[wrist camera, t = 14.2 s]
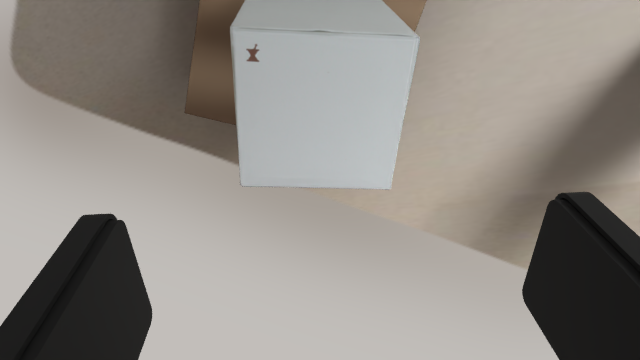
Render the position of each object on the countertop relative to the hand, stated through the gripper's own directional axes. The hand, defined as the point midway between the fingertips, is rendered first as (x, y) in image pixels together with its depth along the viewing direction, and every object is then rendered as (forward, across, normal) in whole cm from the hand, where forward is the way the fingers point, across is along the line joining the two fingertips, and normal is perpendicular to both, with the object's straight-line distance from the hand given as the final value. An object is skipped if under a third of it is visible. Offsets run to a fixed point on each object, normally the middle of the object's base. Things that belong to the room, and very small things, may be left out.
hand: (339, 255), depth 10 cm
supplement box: (+22, 0, 0) cm, 22 cm away
